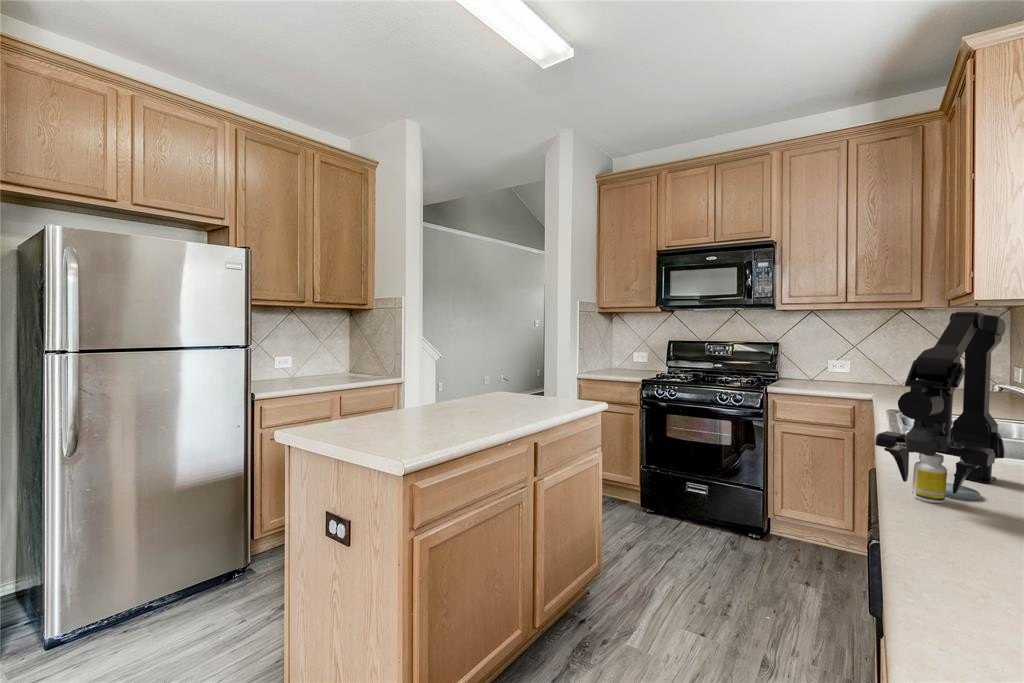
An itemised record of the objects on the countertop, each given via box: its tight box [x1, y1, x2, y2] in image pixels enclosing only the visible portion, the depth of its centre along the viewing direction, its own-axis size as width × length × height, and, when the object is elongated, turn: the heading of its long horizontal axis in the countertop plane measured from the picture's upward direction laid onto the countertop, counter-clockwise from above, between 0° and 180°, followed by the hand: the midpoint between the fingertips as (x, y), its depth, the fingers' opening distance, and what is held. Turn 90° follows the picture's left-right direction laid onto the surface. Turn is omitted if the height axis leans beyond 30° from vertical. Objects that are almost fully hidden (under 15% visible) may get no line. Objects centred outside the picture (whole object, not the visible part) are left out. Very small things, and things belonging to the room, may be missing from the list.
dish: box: [945, 482, 981, 502], centre depth 110 cm, size 9×9×1 cm
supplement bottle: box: [911, 453, 948, 504], centre depth 106 cm, size 5×5×10 cm
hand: (929, 487), depth 106 cm, fingers open, 8 cm apart
